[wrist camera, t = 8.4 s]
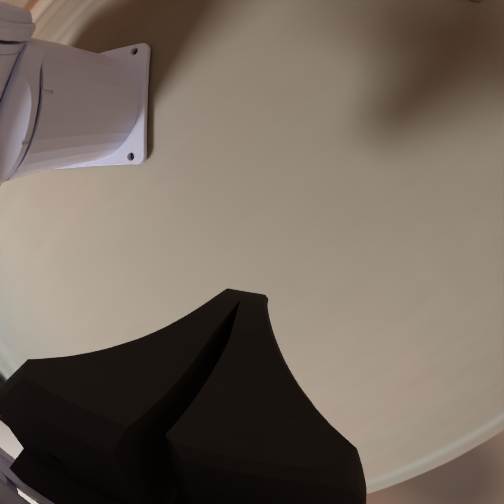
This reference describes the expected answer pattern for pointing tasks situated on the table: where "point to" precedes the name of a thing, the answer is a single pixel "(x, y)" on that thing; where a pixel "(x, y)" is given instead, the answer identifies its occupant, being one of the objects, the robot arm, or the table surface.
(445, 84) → the table surface
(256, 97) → the table surface
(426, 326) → the table surface
